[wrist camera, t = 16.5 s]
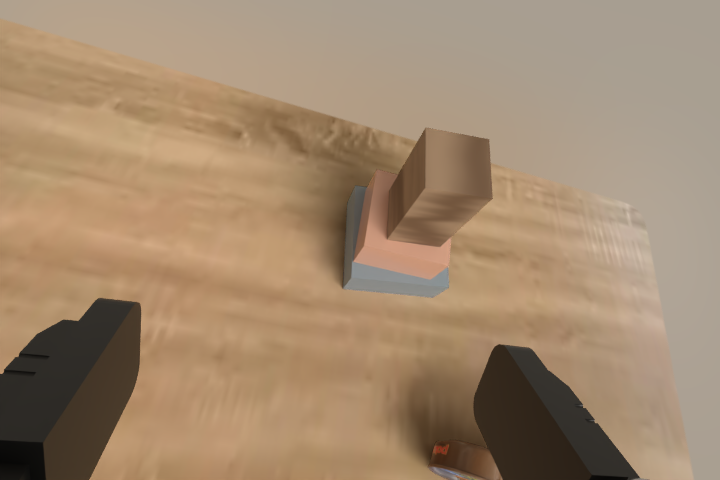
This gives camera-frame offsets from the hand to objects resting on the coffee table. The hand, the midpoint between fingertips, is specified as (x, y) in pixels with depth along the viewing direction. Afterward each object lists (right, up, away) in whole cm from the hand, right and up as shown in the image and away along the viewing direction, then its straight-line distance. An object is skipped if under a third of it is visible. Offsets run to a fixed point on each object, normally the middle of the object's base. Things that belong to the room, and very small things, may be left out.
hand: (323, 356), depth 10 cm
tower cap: (+5, +3, +35) cm, 36 cm away
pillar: (+6, +5, +31) cm, 32 cm away
